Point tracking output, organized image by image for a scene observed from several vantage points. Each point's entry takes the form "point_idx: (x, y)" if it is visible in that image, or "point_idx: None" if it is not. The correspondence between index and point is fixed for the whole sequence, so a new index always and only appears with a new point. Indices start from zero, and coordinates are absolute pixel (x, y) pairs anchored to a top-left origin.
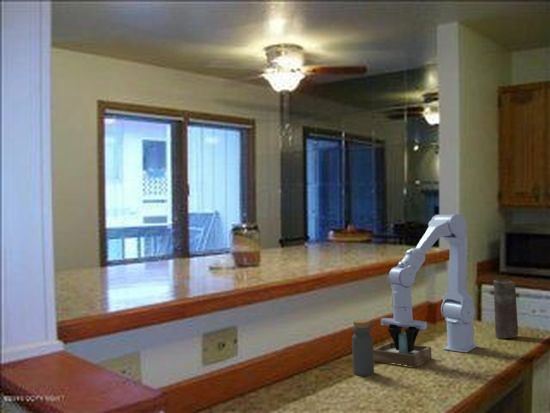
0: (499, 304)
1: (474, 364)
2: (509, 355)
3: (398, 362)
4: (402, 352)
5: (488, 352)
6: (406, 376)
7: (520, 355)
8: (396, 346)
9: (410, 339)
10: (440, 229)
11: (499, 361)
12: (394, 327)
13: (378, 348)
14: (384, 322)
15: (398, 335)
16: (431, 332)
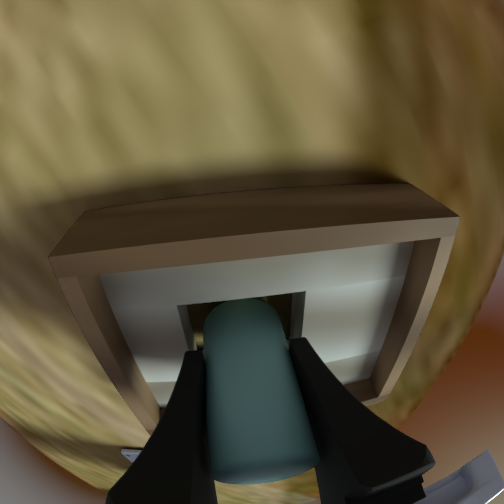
0: None
1: (6, 376)
2: (47, 446)
3: (206, 203)
4: (242, 329)
5: (93, 455)
6: (24, 22)
7: (38, 447)
8: (306, 357)
9: (155, 436)
10: None
11: (11, 412)
12: (368, 502)
13: (427, 281)
14: (470, 485)
15: (309, 448)
16: (314, 479)
